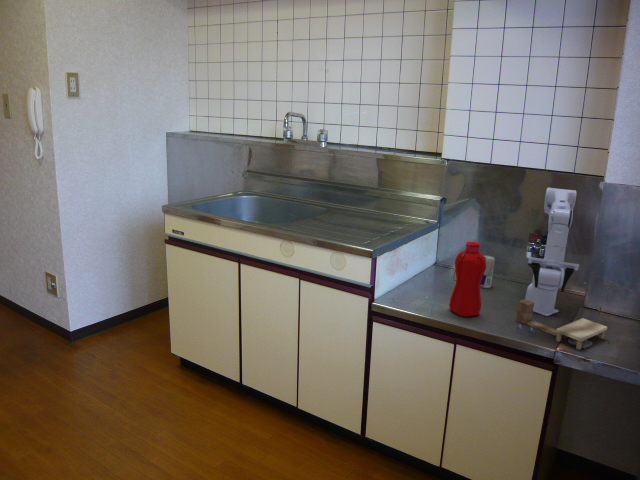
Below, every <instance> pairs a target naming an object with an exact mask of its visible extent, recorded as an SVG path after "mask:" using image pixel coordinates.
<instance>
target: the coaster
mask: <svg viewBox="0 0 640 480" xmlns="http://www.w3.org/2000/svg"><path fill="white" fill-rule="evenodd" d="M568 342H569V343H568ZM567 343H568V344H570V343H571V344H570V345H573V344H574V345H573V346H575V345H576V344H577V340H576V339H573V338H571V337H570V338H569V339H567ZM592 345H593V342H592V341H589V340H588V339H586V340H584V341H582V346H581V349H582V348H584V349H586V347H587V348H588V347H591V346H592Z"/></svg>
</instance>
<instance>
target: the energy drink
mask: <svg viewBox="0 0 640 480" xmlns="http://www.w3.org/2000/svg"><path fill="white" fill-rule="evenodd" d="M482 255H483V254H482ZM483 256H484V257H485V258H486V270H485V272H484V275H483V277H482V280H481V283H480V289H490V288H492V283H493V276H494V269H495V263H496V262H495V260H496V259H495V257H494V256H491V255H488V254H487V255H483Z"/></svg>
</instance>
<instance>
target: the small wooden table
mask: <svg viewBox="0 0 640 480" xmlns="http://www.w3.org/2000/svg"><path fill="white" fill-rule="evenodd" d="M555 330H556V332H557V336H555V337H556V338H555V342H558V343H561V342H562V337H563V335H564V336H565V337H569V338H570V339H571V338H573V339H576V340H577V344H576V346H575V350H577V349H579V350H578V351H581V350H582V348H581V346H582V341H584V340H588V339H590V338H592V337H594V336H596V335H598V339H600V340H604V339H605V335H606V331H607V330H608V326H606V325H603V324H601V323H598V322H594V321H592V320H589V319H586V318H584V317H582V318H579V319H577V320H575V321H573V322H570V323H567V324H565V325H562V326H560V327H558V328H556V329H555ZM580 349H581V350H580Z"/></svg>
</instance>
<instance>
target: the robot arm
mask: <svg viewBox="0 0 640 480" xmlns="http://www.w3.org/2000/svg"><path fill="white" fill-rule="evenodd" d="M545 190H546V191H545V197H544V205H543V209H544V211H543V212H544V213H545V214H547V215H548V228H547V231H548V232H547V239H546V245H545V251H544V258H540V257H539V258H538V257H532V256H529V257H528V261H527V263H528V264H531V270H532V273H533V274H532V275H533V276H532V281H531V283H530V284H528V286H527V289H526V292H525V293H526V294H525V297H524V300H528V301H531V302H534V308H533V312H534V313H537V314H540V315H542V316H545V317H548V316H551V315H554V314H557V313H559V310H558V309H557V308H556V309H555V306H556V299H557V295H558V294H557V293H558V291H559V289H561V290H560V292H561V293H564V292H565V288H566V285H567V284H568V282H569V279H570V278H571V276H572V275H573V273H574V272H575V271H579V267H580V264H579V263H573V262H566V261H565V255H566V248H567V242H568V237H569V230H570V228H571V226H572V222H573V217H574V212H573V211H574V207H575V205H576V200H577V193H578V192H577V191H576V190H575V189H563V188H554V187H547V188H546V189H545Z"/></svg>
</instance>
